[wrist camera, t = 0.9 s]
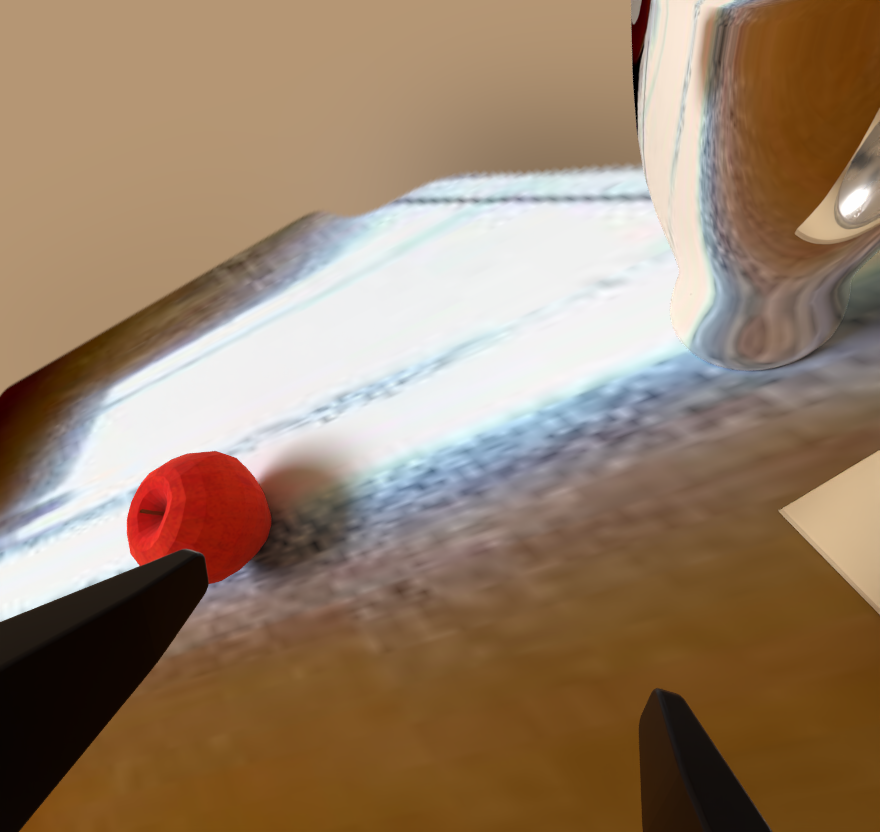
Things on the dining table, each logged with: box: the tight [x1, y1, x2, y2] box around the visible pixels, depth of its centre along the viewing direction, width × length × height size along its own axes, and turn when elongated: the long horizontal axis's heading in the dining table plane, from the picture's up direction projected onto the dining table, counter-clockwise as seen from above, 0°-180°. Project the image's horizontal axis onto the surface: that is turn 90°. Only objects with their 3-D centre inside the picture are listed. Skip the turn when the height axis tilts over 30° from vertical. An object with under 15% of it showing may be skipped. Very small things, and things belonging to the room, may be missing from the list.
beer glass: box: [631, 0, 880, 371], centre depth 12 cm, size 7×7×15 cm
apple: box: [127, 451, 271, 584], centre depth 26 cm, size 8×8×7 cm
